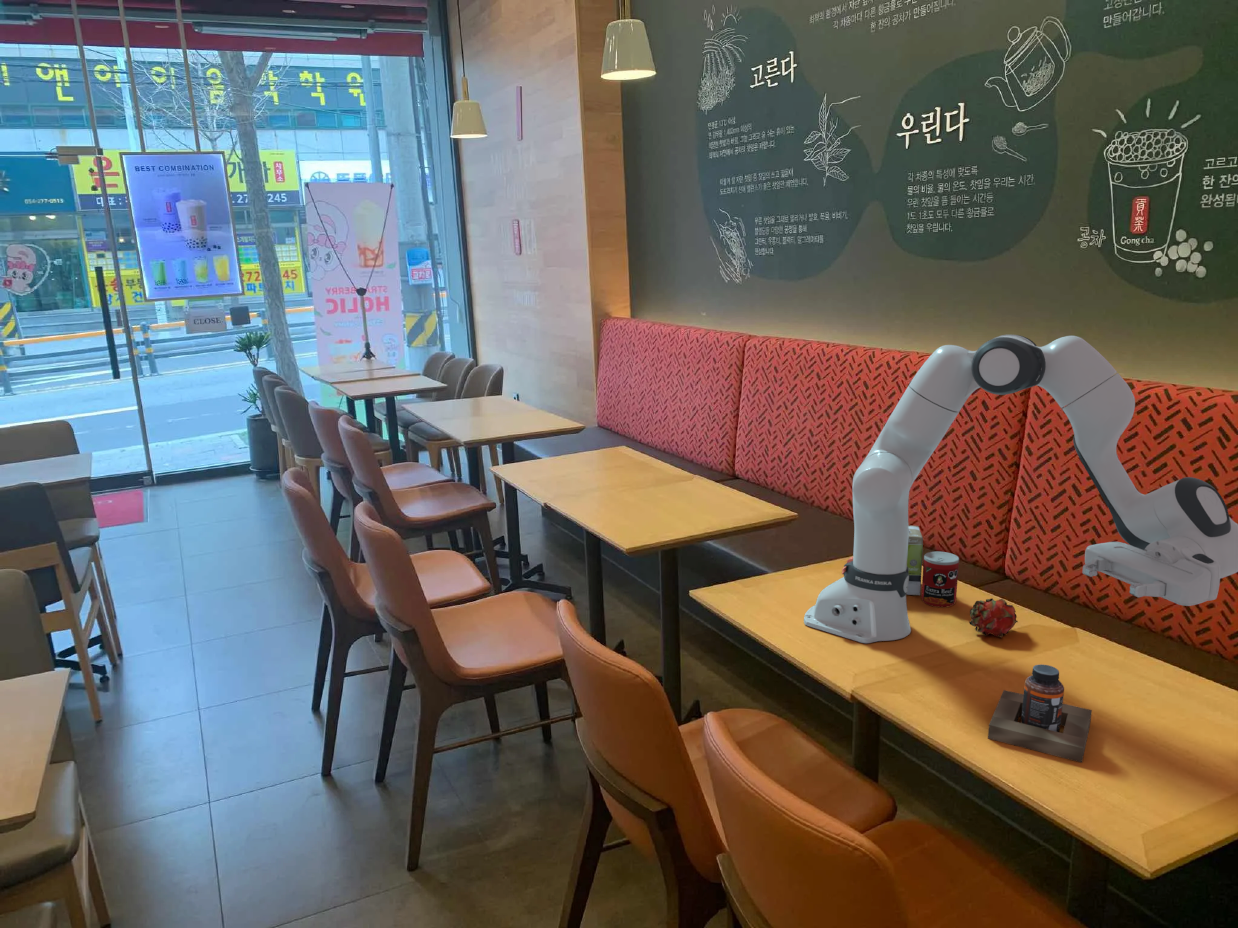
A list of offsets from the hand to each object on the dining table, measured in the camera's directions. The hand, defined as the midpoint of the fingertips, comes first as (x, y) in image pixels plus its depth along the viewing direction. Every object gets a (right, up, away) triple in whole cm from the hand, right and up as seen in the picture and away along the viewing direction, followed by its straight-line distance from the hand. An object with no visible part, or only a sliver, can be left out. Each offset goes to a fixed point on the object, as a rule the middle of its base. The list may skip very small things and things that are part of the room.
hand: (1108, 580), depth 146 cm
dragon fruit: (-2, -17, +40) cm, 44 cm away
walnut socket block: (-11, -26, +2) cm, 28 cm away
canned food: (-8, -13, +57) cm, 59 cm away
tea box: (-17, -11, +67) cm, 70 cm away
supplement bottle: (-11, -26, +2) cm, 28 cm away
